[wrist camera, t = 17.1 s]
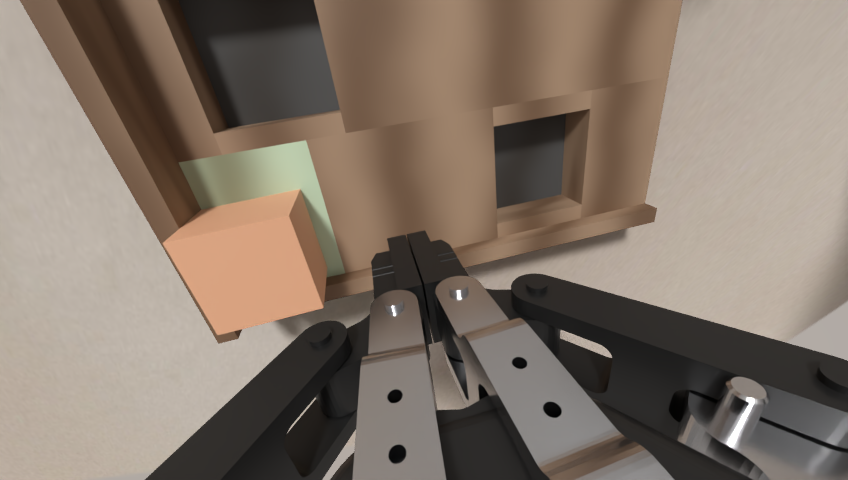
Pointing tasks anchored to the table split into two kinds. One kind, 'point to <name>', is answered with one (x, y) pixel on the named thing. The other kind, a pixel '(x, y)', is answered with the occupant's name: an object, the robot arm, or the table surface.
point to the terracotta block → (251, 261)
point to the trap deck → (378, 114)
